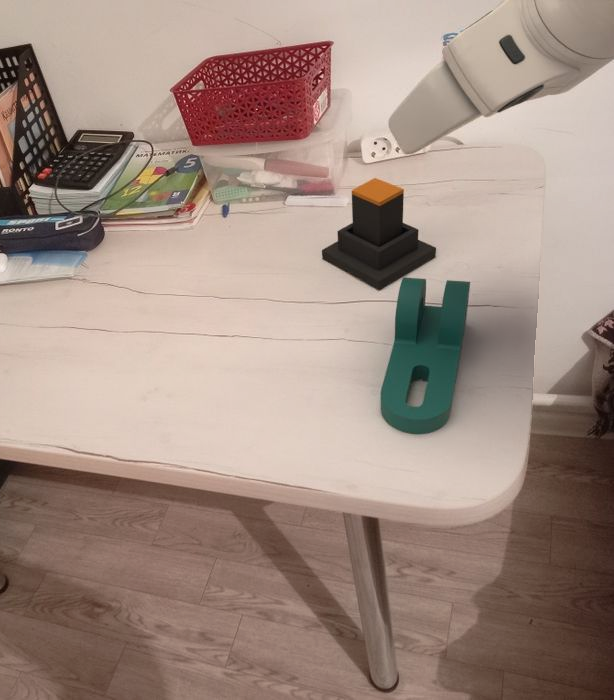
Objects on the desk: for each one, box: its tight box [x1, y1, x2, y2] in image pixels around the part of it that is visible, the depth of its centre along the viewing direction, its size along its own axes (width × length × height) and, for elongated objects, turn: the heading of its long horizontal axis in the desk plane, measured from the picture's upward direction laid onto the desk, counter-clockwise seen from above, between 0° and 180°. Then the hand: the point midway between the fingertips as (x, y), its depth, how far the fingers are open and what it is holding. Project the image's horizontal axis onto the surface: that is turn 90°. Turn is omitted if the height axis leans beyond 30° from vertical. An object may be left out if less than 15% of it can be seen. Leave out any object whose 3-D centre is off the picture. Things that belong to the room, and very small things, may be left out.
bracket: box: [380, 276, 471, 435], centre depth 66 cm, size 18×7×8 cm, turn 153°
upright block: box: [351, 177, 405, 247], centre depth 82 cm, size 5×4×9 cm
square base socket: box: [321, 222, 437, 291], centre depth 85 cm, size 11×10×4 cm
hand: (441, 126), depth 61 cm, fingers open, 8 cm apart
